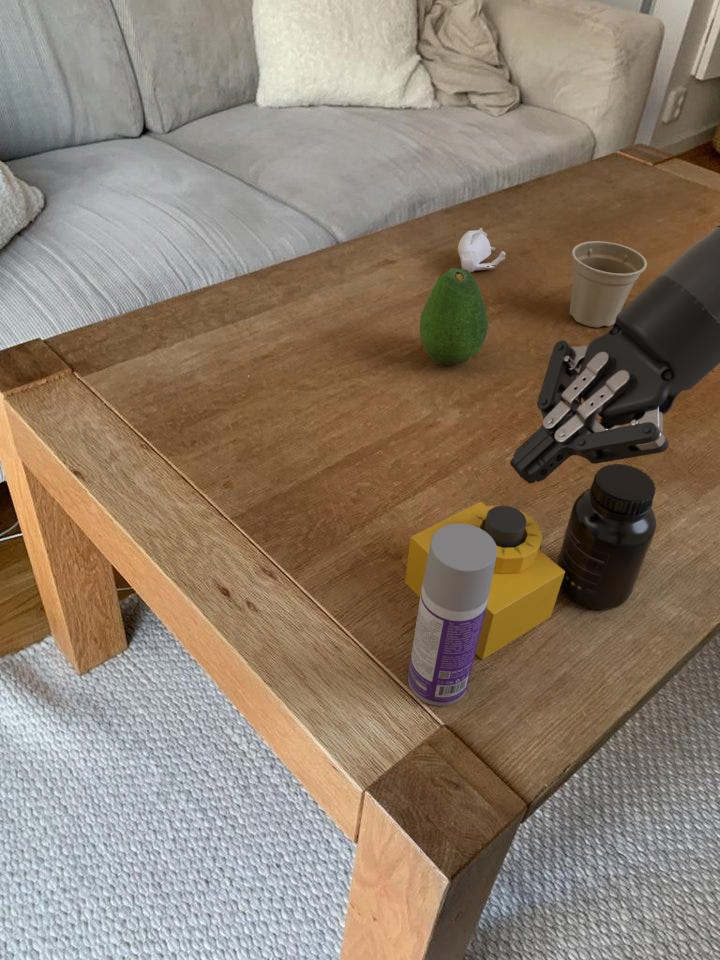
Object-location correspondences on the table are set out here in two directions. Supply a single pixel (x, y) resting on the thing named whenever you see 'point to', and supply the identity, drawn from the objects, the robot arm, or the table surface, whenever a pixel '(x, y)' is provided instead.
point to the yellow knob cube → (500, 580)
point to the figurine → (476, 251)
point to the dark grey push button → (505, 526)
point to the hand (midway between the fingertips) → (520, 474)
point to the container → (451, 612)
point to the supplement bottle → (608, 537)
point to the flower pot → (602, 281)
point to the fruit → (454, 319)
